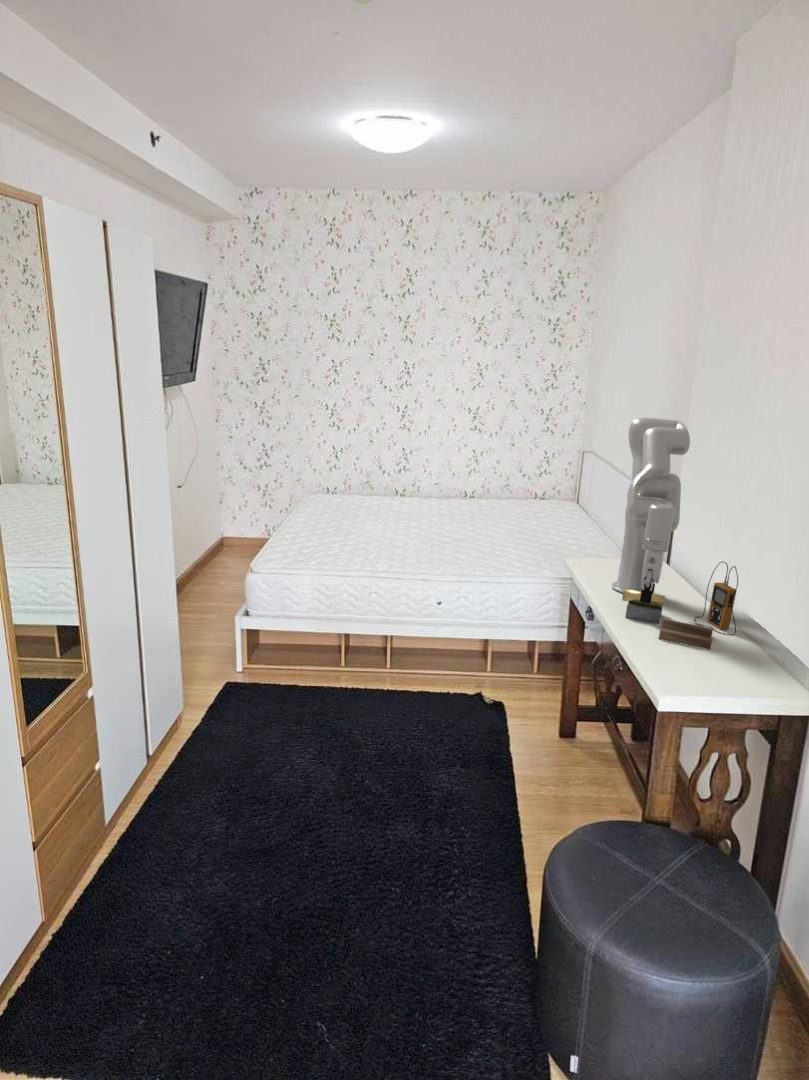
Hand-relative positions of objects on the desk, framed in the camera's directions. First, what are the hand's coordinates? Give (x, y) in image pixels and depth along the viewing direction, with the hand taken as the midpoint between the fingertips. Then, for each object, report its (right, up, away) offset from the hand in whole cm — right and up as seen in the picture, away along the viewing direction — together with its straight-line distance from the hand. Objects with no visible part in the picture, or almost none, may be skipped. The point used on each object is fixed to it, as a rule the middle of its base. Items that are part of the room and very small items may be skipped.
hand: (646, 598), depth 226 cm
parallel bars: (+7, -10, -14) cm, 19 cm away
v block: (0, -6, +2) cm, 6 cm away
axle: (-1, 0, 0) cm, 1 cm away
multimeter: (+18, -9, -3) cm, 20 cm away
